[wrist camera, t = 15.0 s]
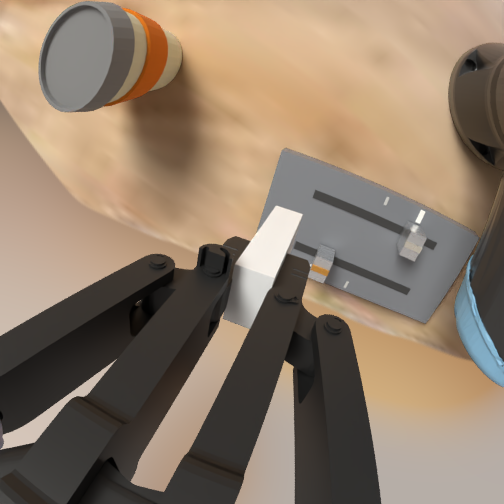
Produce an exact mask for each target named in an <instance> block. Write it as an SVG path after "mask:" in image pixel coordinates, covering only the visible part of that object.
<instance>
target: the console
mask: <svg viewBox="0 0 504 504" xmlns="http://www.w3.org/2000/svg"><path fill="white" fill-rule="evenodd" d="M275 206H279V207H282V208H285V209H288V210H291V211H294V212H297V213H300V214H303V215H302V218H301V222H300V225H299V228H298V231H297V234H296V237H295V241H294V244H293V247H292V250H291V253H290V254H291V255H294V256H297V257H300V258H303V259H306V260H308V262H309V264H310V267H311V264H312V262H313V259H314V257H315V255H316V252H317V250H318V248H319V245H320V244H321V245H324V246H326V247H329V248H331V249H334V250H335V255H334V260H333V264H332V266H331V268H330V270H329V273H328V275H327V277H326V279H325V281H324V283H326V284H329V285H331V286H334V287H336V288H338V289H341V290H343V291H346V292H348V293H351V294H353V295H356V296H358V297H361V298H363V299H366V300H368V301H371V302H373V303H376V304H378V305H380V306H383V307H385V308H388V309H390V310H393V311H395V312H398V313H400V314H403V315H405V316H408V317H410V318H413V319H415V320H418V321H420V322H422V323H425V324H426V322H427V321H428V319H429V318H430V317H431V315H432V314H433V312H434V311H435V309H436V308H437V307H438V305H439V304H440V302H441V301H442V299H443V298H444V296H445V295H446V293H447V292H448V290H449V289H450V287H451V285H452V284H453V282H454V281H455V279H456V277H457V276H458V274H459V273H460V271H461V269H462V268H463V266H464V264H465V263H466V261H467V259H468V257H469V256H470V254H471V252H472V251H473V249H474V247H475V245H476V243H477V242H478V240H479V237H478V235H477V234H476V233H475V232H474V231H473V230H471V229H469V228H467V227H465V226H464V225H462V224H460V223H458V222H456V221H454V220H452V219H450V218H448V217H446V216H445V215H443V214H441V213H439V212H437V211H435V210H433V209H431V208H429V207H427V206H425V205H423V204H420V203H418V202H416V201H414V200H412V199H410V198H408V197H406V196H404V195H401V194H399V193H397V192H395V191H393V190H390V189H388V188H386V187H384V186H381V185H379V184H377V183H375V182H372V181H370V180H368V179H365V178H363V177H361V176H358V175H356V174H353V173H351V172H348V171H346V170H343V169H341V168H338V167H336V166H333V165H331V164H328V163H326V162H323V161H320V160H318V159H315V158H312V157H310V156H307V155H304V154H301V153H299V152H296V151H293V150H290V149H287V148H285V149H283V150H282V152H281V155H280V158H279V161H278V165H277V168H276V171H275V174H274V177H273V181H272V184H271V187H270V190H269V194H268V197H267V200H266V203H265V207H264V210H263V213H262V216H261V220H260V223H259V226H258V229H257V232H258V230H259V229H260V228H261V226H262V225H263V223H264V222H265V221H266V219H267V218H268V216H269V215H270V213H271V212H272V211H273V209H274V208H275ZM407 221H410V222H412V223H414V224H416V225H418V226H420V227H422V228H423V231H424V233H425V235H426V238H427V239H426V241H425V243H424V245H423V247H422V250H421V252H420V254H418V256H417V258H416V260H415V262H414V261H412V260H410V259H408V258H405V257H403V256H401V255H399V251H398V247H397V241H398V239H399V237H400V235H401V233H402V231H403V229H404V227H405V225H406V222H407Z"/></svg>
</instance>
